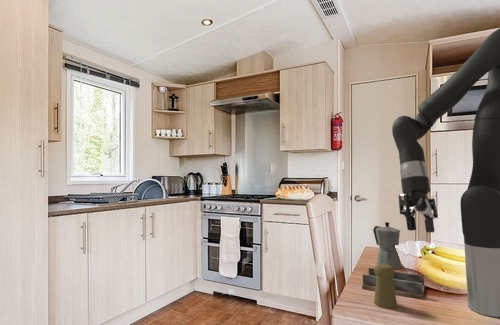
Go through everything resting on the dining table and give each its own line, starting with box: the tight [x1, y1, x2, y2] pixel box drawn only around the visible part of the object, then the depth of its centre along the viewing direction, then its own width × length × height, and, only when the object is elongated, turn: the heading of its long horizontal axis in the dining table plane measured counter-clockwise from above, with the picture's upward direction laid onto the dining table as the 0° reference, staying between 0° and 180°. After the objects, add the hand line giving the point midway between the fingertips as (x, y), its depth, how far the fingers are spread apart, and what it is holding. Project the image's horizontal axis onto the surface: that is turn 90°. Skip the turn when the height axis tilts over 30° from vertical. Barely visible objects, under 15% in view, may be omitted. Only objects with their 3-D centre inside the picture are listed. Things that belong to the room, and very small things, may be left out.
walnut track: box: [361, 267, 426, 300], centre depth 98 cm, size 17×13×4 cm
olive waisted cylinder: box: [373, 263, 398, 310], centre depth 84 cm, size 6×6×11 cm
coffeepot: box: [372, 221, 402, 270], centre depth 124 cm, size 15×9×18 cm, turn 13°
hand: (421, 231), depth 87 cm, fingers open, 8 cm apart
